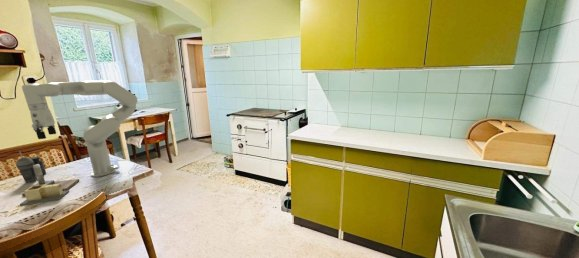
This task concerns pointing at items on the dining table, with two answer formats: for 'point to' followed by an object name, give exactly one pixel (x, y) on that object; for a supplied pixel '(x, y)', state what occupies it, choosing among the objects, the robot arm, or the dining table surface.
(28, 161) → the beverage cup
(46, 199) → the mat
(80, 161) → the dining table surface
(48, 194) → the beige block
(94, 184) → the dining table surface
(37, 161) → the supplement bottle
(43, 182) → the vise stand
